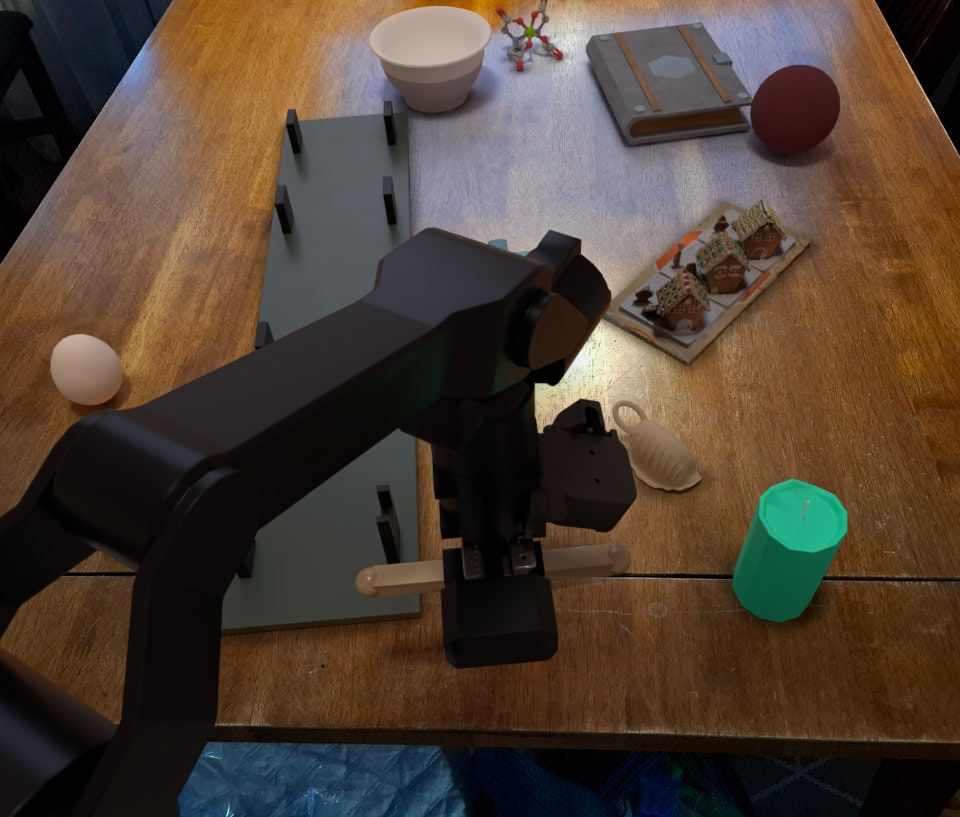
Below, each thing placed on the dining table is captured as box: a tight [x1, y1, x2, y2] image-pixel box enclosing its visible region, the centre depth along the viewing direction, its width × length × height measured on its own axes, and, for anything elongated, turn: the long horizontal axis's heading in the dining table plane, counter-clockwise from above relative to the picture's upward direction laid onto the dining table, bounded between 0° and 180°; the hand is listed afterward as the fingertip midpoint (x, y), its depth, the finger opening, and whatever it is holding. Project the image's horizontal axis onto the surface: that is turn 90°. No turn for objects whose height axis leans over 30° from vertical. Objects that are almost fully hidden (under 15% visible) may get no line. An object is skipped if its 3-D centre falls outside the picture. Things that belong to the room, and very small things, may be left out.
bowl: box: [368, 5, 493, 114], centre depth 113 cm, size 16×16×9 cm
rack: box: [221, 100, 422, 636], centre depth 87 cm, size 72×16×8 cm, turn 4°
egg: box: [50, 333, 124, 406], centre depth 81 cm, size 6×6×8 cm
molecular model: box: [495, 0, 564, 71], centre depth 119 cm, size 7×8×7 cm
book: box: [585, 22, 753, 146], centre depth 111 cm, size 21×16×5 cm
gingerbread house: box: [602, 197, 812, 366], centre depth 87 cm, size 11×23×7 cm, turn 137°
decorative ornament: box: [611, 399, 703, 492], centre depth 73 cm, size 4×8×5 cm, turn 38°
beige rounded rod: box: [355, 543, 632, 598], centre depth 57 cm, size 2×19×2 cm, turn 94°
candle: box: [732, 478, 848, 623], centre depth 62 cm, size 6×6×12 cm
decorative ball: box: [749, 64, 841, 155], centre depth 100 cm, size 10×10×10 cm
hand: (493, 578), depth 58 cm, fingers closed on beige rounded rod, 2 cm apart
